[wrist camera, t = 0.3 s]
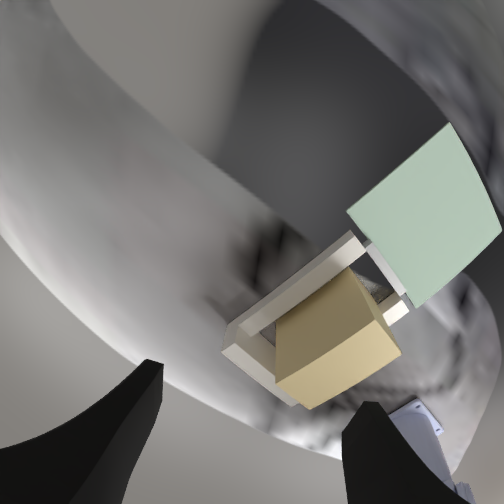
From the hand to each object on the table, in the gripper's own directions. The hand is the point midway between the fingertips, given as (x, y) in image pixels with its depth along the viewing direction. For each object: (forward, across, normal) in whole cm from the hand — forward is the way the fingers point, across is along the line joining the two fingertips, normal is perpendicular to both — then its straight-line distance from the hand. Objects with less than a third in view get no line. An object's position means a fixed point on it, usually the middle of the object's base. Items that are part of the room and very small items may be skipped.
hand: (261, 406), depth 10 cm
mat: (+10, -10, -7) cm, 15 cm away
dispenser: (+10, -4, +1) cm, 11 cm away
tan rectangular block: (+10, -4, +1) cm, 11 cm away
